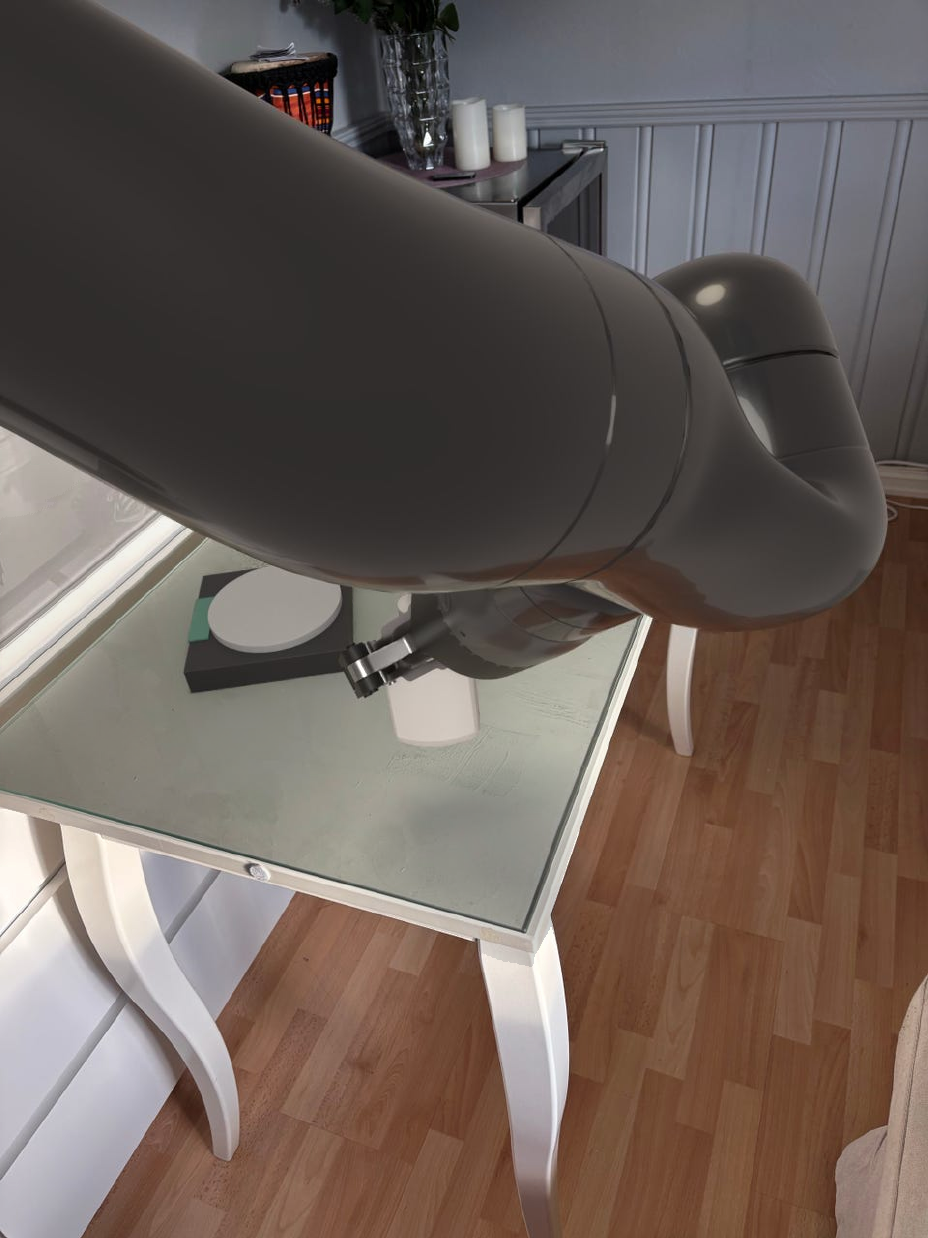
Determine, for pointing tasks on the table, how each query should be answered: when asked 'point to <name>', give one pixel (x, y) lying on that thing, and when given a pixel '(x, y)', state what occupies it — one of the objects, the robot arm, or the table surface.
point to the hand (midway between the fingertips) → (412, 650)
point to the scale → (266, 628)
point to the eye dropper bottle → (433, 705)
